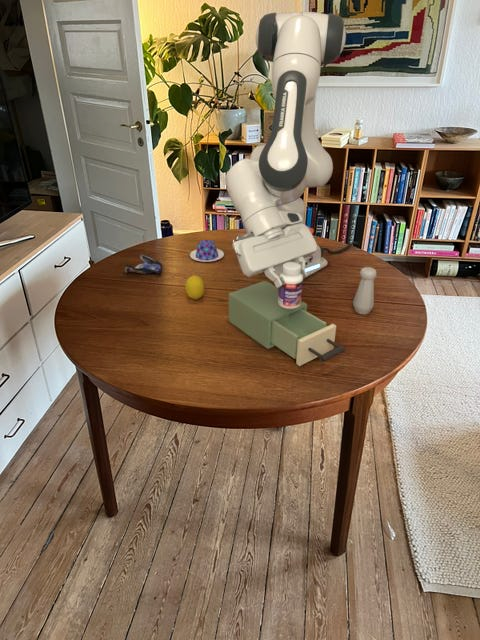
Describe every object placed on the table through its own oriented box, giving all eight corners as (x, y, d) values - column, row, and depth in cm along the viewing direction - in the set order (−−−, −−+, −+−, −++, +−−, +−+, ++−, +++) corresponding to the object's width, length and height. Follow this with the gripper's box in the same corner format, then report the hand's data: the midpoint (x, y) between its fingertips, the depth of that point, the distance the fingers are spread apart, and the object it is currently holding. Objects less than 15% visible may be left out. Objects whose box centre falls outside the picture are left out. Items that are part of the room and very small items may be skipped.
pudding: (189, 264, 158) (188, 249, 155) (190, 250, 168) (189, 236, 165) (224, 262, 159) (224, 248, 156) (223, 249, 169) (222, 235, 166)
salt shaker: (350, 313, 130) (356, 271, 123) (353, 304, 134) (359, 263, 127) (371, 317, 128) (378, 275, 121) (373, 307, 132) (381, 266, 126)
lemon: (202, 305, 134) (200, 280, 130) (183, 303, 135) (181, 278, 131) (207, 296, 139) (206, 271, 134) (189, 294, 140) (187, 270, 135)
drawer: (350, 359, 110) (353, 335, 106) (315, 377, 104) (318, 353, 101) (290, 322, 124) (292, 300, 121) (257, 336, 118) (258, 313, 115)
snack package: (137, 262, 159) (119, 276, 150) (138, 245, 156) (119, 258, 146) (169, 273, 157) (152, 287, 147) (170, 256, 153) (153, 269, 144)
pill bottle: (284, 311, 105) (286, 272, 100) (273, 300, 109) (275, 262, 104) (305, 306, 107) (308, 268, 101) (294, 296, 111) (296, 258, 106)
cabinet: (304, 332, 122) (307, 303, 117) (267, 349, 115) (268, 319, 111) (264, 307, 133) (265, 280, 128) (228, 321, 126) (228, 293, 122)
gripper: (235, 231, 98) (263, 290, 96) (305, 212, 108) (332, 264, 107) (223, 245, 103) (250, 300, 102) (291, 225, 114) (317, 275, 112)
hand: (292, 281), depth 104 cm, fingers closed on pill bottle, 5 cm apart
